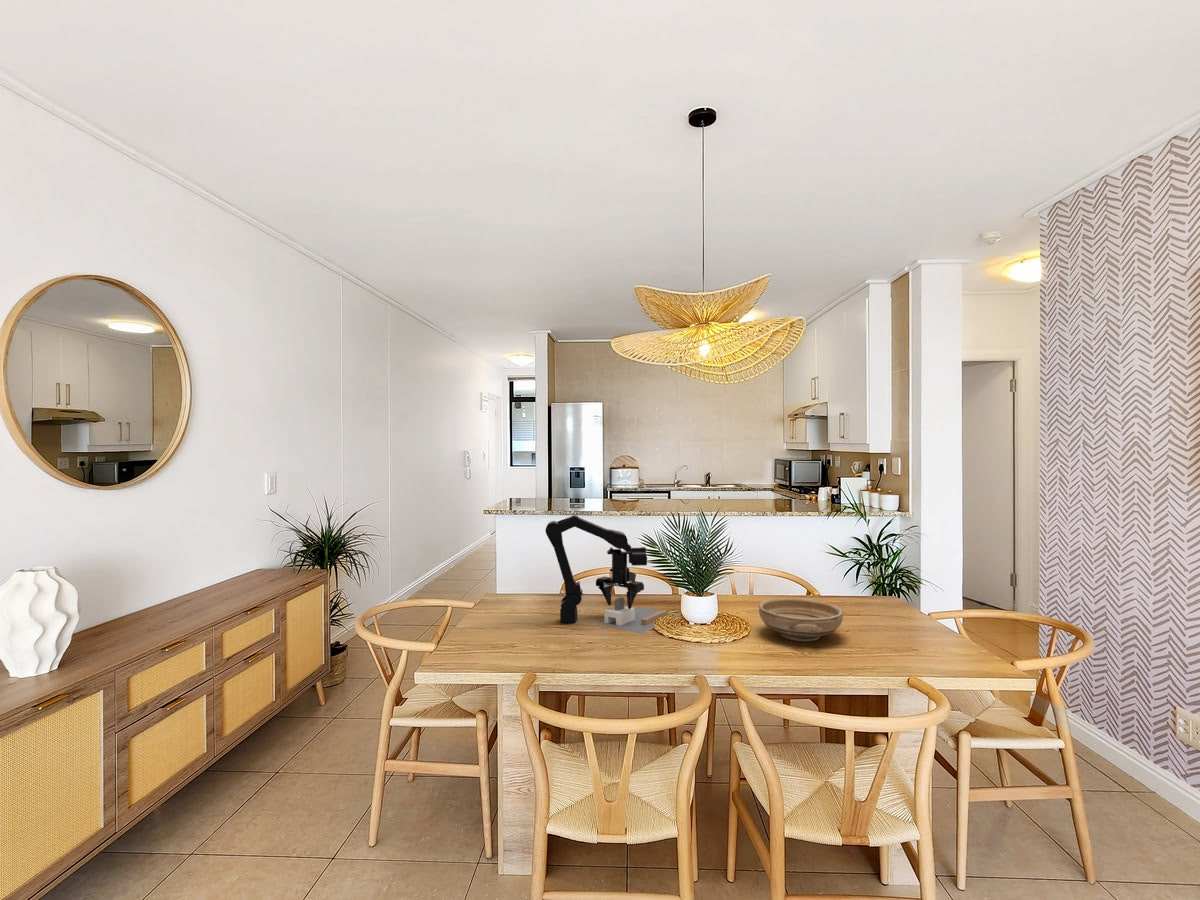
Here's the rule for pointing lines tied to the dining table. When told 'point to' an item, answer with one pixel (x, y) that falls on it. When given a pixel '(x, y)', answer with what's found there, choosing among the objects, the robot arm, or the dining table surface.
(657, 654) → the dining table surface
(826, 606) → the ceramic bowl
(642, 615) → the cleat board
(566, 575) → the robot arm
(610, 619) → the cabinet block
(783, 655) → the dining table surface
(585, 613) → the dining table surface
